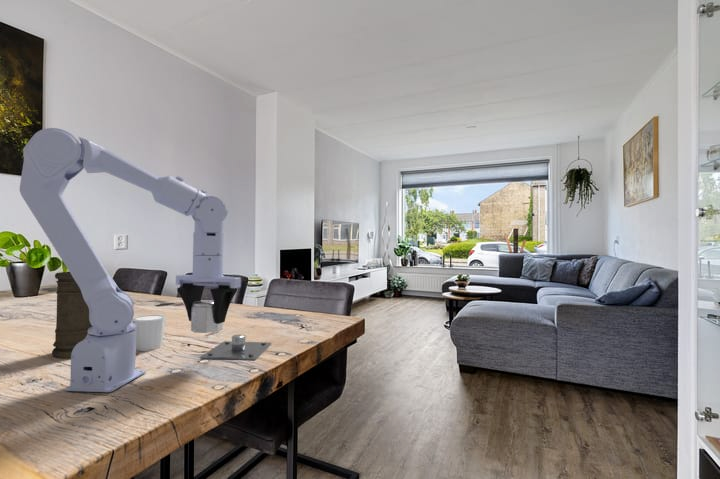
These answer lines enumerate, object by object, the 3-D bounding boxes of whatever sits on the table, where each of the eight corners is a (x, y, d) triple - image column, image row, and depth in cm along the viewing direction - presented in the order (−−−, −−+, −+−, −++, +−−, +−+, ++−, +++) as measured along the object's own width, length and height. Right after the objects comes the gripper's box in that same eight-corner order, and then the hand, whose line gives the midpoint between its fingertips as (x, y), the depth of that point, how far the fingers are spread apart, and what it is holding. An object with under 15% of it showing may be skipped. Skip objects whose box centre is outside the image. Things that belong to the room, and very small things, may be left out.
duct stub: (255, 359, 76) (255, 344, 76) (200, 358, 77) (201, 342, 77) (271, 344, 88) (271, 330, 88) (223, 342, 89) (224, 329, 89)
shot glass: (125, 348, 83) (125, 318, 83) (153, 341, 89) (154, 313, 89) (142, 353, 80) (143, 322, 80) (171, 345, 86) (172, 316, 86)
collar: (214, 333, 70) (214, 304, 70) (186, 332, 70) (187, 304, 70) (226, 326, 76) (227, 300, 76) (201, 325, 76) (202, 299, 76)
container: (74, 360, 75) (76, 274, 75) (40, 356, 76) (42, 272, 77) (112, 347, 83) (114, 271, 84) (80, 345, 85) (82, 269, 85)
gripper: (250, 255, 75) (248, 320, 75) (193, 253, 79) (192, 315, 79) (228, 256, 68) (227, 327, 68) (168, 254, 72) (166, 321, 72)
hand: (206, 321), depth 73 cm, fingers closed on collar, 6 cm apart
